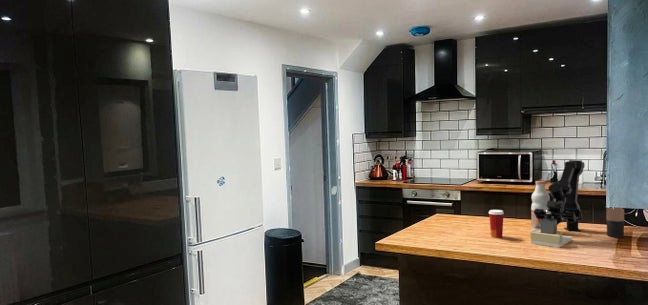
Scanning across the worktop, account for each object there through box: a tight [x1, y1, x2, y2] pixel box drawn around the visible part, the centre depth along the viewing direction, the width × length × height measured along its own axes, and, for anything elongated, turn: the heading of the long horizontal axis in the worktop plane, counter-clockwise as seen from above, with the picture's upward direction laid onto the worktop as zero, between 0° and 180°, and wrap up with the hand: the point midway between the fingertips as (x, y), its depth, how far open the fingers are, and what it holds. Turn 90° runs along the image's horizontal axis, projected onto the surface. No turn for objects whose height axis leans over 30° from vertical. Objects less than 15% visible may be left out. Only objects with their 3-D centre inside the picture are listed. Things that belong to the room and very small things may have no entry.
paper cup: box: [488, 209, 505, 239], centre depth 233 cm, size 8×8×14 cm
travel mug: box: [606, 207, 625, 239], centre depth 225 cm, size 8×8×20 cm
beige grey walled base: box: [530, 230, 573, 248], centre depth 220 cm, size 20×13×6 cm, turn 134°
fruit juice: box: [530, 180, 551, 232], centre depth 241 cm, size 9×9×28 cm
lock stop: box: [540, 218, 558, 234], centre depth 217 cm, size 5×6×10 cm
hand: (550, 228), depth 219 cm, fingers closed
